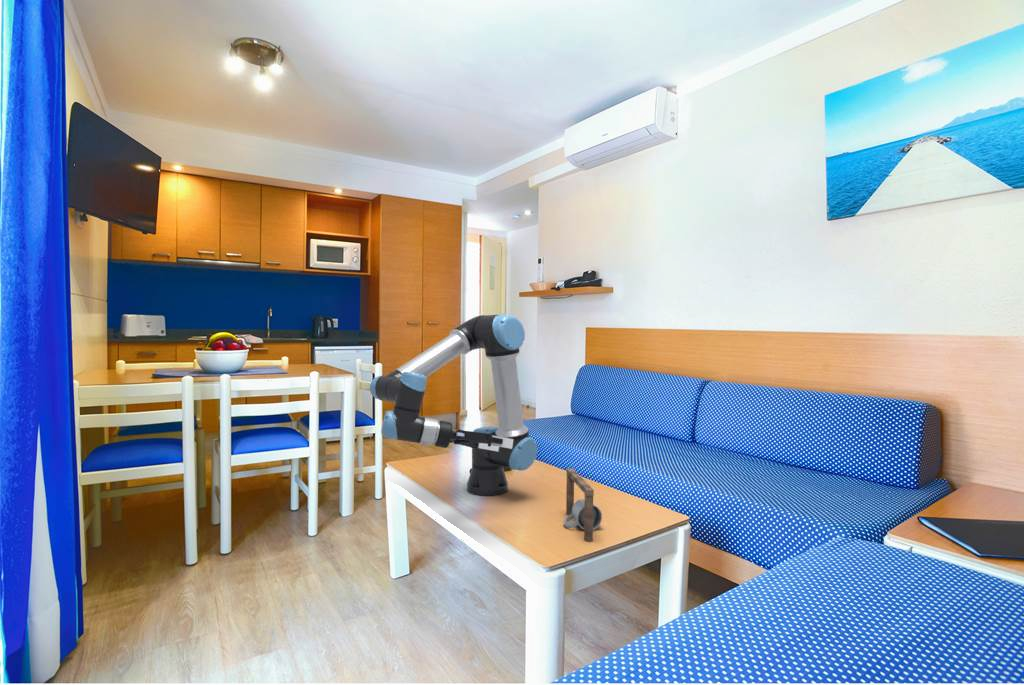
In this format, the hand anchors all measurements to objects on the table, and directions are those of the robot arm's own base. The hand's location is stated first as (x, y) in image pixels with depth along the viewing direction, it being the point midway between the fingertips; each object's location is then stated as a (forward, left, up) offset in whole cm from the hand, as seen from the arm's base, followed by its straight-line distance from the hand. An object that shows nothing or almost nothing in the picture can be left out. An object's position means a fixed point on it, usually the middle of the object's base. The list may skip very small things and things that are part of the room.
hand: (505, 445), depth 147 cm
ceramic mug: (+4, +23, -24) cm, 33 cm away
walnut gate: (+4, +22, -24) cm, 33 cm away
